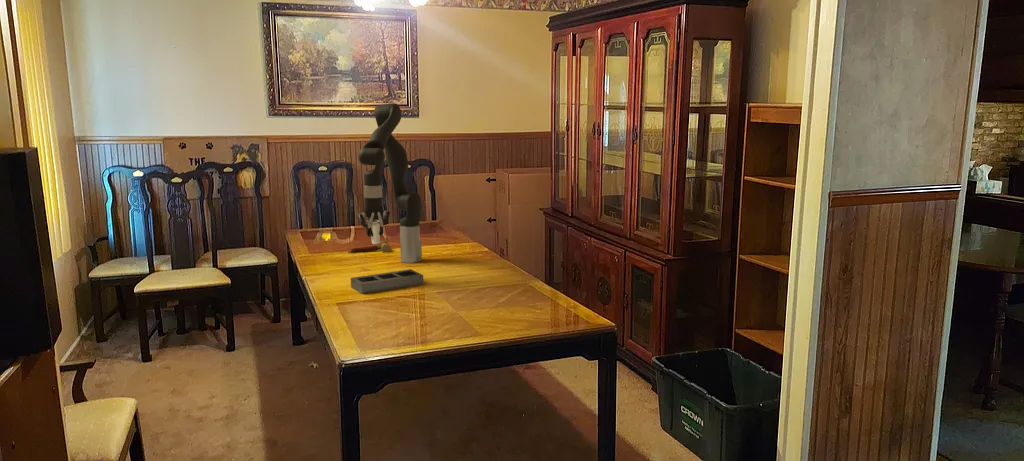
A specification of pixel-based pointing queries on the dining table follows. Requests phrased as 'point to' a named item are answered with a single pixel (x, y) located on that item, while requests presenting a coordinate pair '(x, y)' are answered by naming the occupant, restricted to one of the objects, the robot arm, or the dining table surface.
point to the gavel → (373, 248)
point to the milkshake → (375, 232)
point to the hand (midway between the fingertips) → (374, 235)
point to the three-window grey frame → (386, 281)
